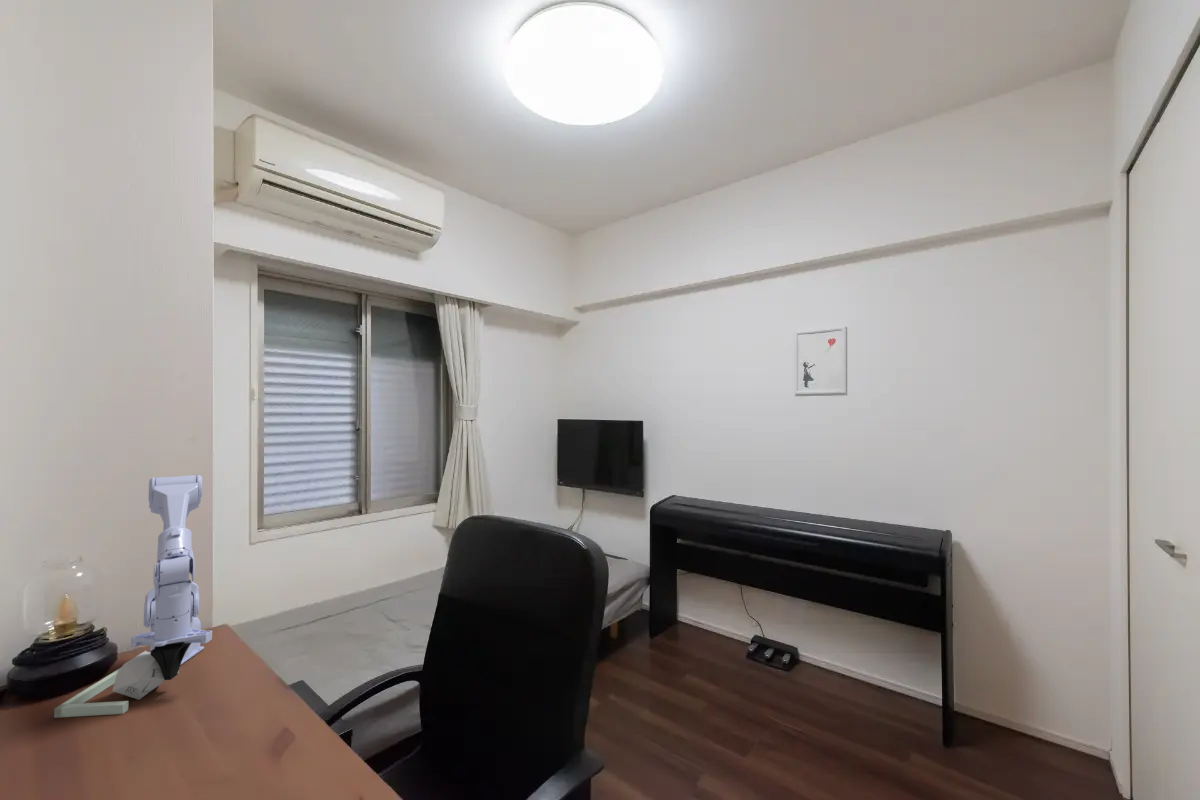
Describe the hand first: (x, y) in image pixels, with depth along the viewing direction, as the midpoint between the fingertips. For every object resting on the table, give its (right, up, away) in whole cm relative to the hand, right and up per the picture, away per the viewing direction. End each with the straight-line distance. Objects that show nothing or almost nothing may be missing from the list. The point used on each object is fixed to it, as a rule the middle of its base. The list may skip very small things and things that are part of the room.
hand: (170, 677), depth 101 cm
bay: (-9, -3, -1) cm, 10 cm away
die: (-5, -3, -1) cm, 6 cm away
